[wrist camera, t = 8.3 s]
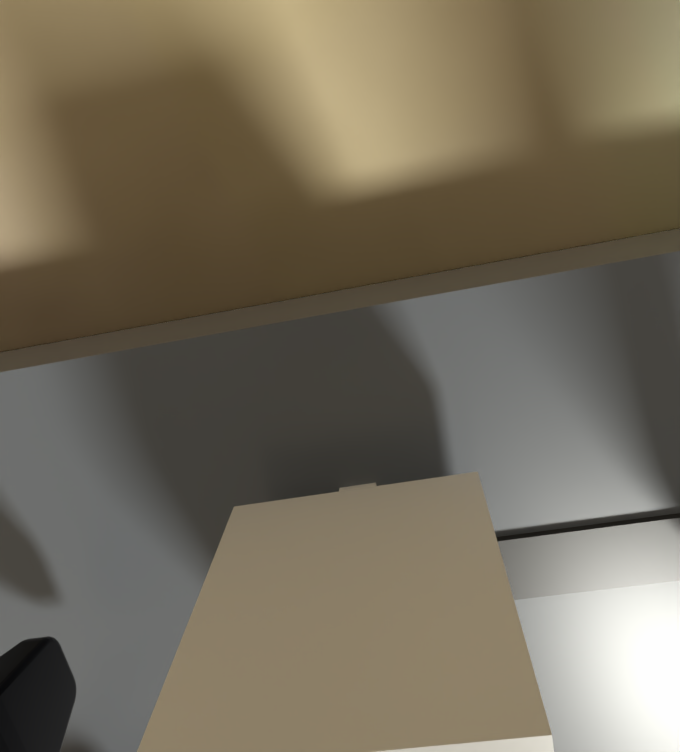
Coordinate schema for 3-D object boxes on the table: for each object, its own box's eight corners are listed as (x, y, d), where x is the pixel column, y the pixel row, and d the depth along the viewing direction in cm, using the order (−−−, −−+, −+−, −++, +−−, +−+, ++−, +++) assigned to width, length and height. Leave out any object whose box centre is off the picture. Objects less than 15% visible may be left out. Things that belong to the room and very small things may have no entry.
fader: (471, 450, 8) (555, 748, 4) (506, 692, 10) (595, 1092, 6) (242, 483, 9) (123, 787, 5) (307, 712, 10) (256, 1100, 6)
